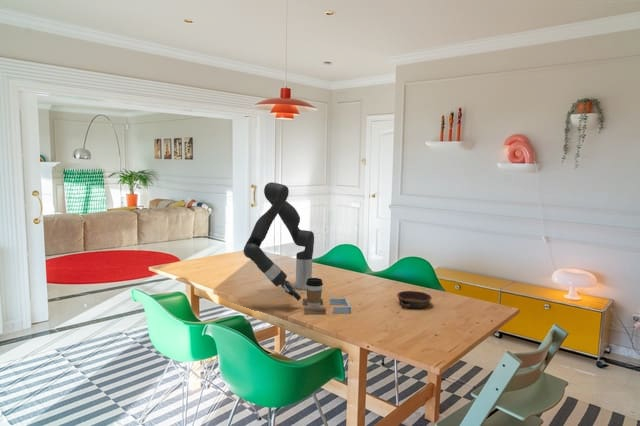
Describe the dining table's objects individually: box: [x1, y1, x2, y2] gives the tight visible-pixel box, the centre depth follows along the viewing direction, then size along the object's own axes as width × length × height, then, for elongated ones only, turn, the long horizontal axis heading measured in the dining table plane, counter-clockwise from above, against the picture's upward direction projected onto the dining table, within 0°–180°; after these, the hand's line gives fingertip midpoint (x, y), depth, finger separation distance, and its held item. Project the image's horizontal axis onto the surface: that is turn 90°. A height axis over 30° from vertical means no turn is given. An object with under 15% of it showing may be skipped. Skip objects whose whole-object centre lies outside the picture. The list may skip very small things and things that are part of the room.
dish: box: [396, 290, 432, 309], centre depth 229 cm, size 18×22×5 cm
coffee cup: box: [306, 277, 324, 307], centre depth 217 cm, size 8×8×15 cm
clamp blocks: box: [302, 297, 327, 315], centre depth 218 cm, size 17×10×2 cm, turn 5°
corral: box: [329, 297, 352, 314], centre depth 219 cm, size 14×8×3 cm, turn 5°
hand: (299, 298), depth 217 cm, fingers closed
